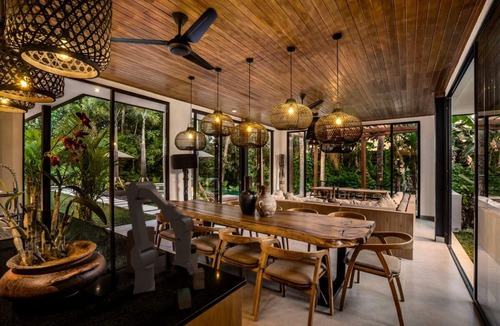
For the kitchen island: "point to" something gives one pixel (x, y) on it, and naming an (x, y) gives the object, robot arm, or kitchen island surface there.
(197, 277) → the rust face block
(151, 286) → the robot arm
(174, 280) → the kitchen island surface
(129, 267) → the block
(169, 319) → the kitchen island surface
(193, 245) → the jar
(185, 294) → the teal face block
